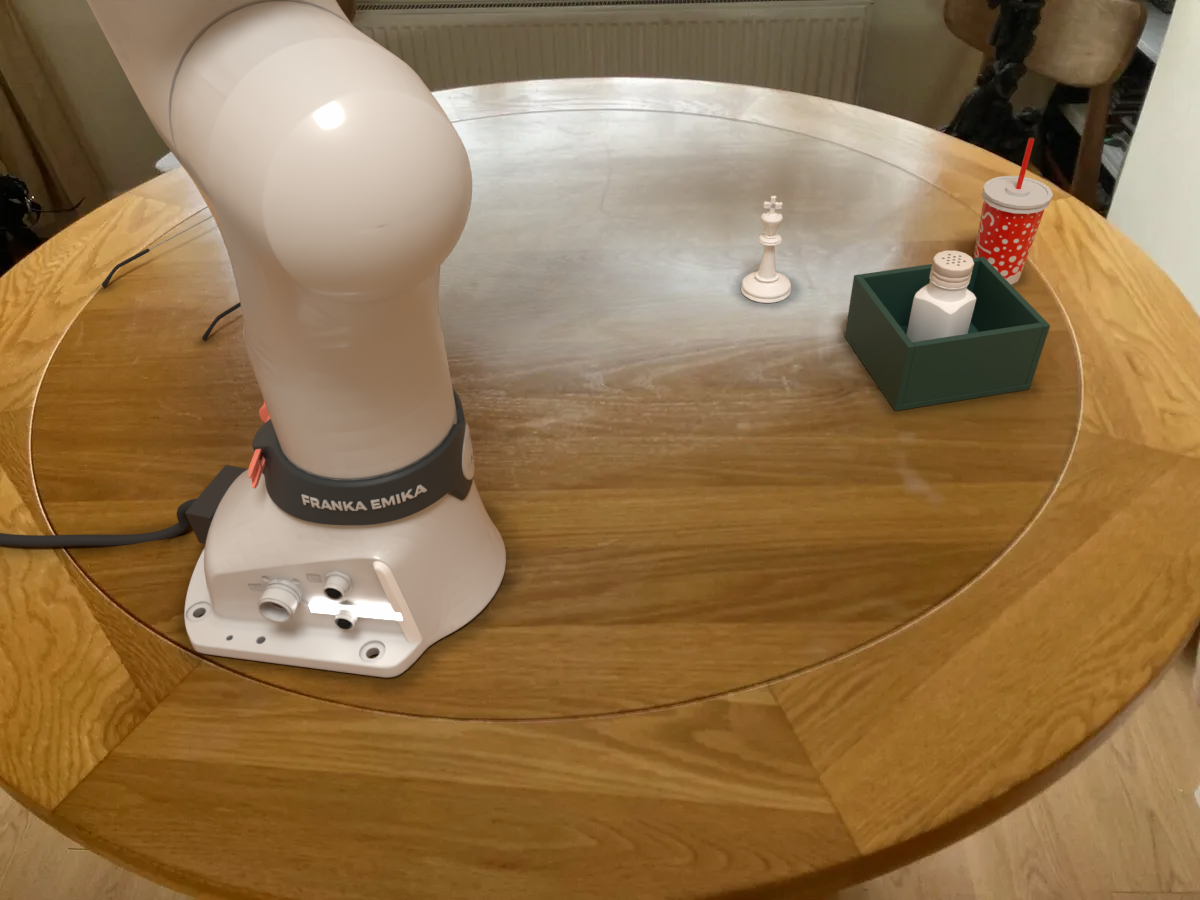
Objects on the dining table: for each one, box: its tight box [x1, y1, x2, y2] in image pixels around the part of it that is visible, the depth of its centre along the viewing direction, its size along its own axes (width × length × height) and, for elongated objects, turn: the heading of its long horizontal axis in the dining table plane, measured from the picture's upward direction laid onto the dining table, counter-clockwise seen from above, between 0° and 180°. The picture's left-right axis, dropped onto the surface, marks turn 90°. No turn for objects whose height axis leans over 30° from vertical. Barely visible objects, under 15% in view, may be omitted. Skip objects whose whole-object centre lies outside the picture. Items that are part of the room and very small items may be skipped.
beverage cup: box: [973, 137, 1054, 286], centre depth 91 cm, size 6×6×14 cm
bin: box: [844, 257, 1051, 412], centre depth 83 cm, size 12×11×7 cm
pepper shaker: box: [906, 250, 976, 342], centre depth 82 cm, size 4×4×10 cm
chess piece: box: [740, 195, 792, 304], centre depth 92 cm, size 5×5×10 cm
